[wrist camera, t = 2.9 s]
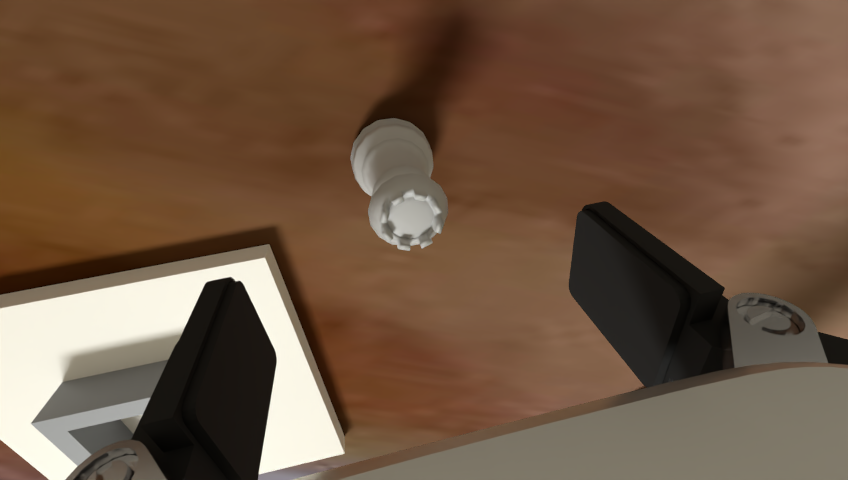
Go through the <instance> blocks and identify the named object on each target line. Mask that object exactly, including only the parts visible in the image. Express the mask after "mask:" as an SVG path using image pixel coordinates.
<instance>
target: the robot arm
mask: <svg viewBox="0 0 848 480" xmlns="http://www.w3.org/2000/svg"><path fill="white" fill-rule="evenodd" d="M724 289H725V288H724V287H723V286H721V285H720V284H719V283H717V282H716V281H714V280H713V279H712V278H710V277H709V276H708V275H706V274H705V273H704V272H702V271H701V270H699V269H698V268H697V267H695V266H694V265H693V264H691V263H690V262H689V261H687V260H686V259H685V258H683V257H682V256H680V255H679V254H678V253H676V252H675V251H674V250H672V249H671V248H670V247H668V246H667V245H665V244H664V243H663V242H661V241H660V240H659V239H657V238H656V237H655V236H653V235H652V234H651V233H649V232H648V231H646V230H645V229H644V228H642V227H641V226H640V225H638V224H637V223H636V222H634V221H633V220H631V219H630V218H629V217H627V216H626V215H625V214H623V213H622V212H621V211H619V210H618V209H616V208H615V207H614V206H612V205H611V204H610V203H608V202H599V203H594V204H589V205H586V206H584V207H583V209H582V211H580V212H579V213H578V215H577V221H576V229H575V237H574V245H573V254H572V262H571V270H570V278H569V290H570V293H571V295H572V296H573V298H574V299H575V300H576V302H577V303H578V304H579V305H580V306H581V308H582V309H583V310H584V311H585V313H586V314H587V315H588V316H589V318H590V319H591V320H592V321H593V323H594V324H595V325H596V326H597V328H598V329H599V330H600V331H601V333H602V334H603V335H604V336H605V338H606V339H607V340H608V341H609V343H610V344H611V345H612V346H613V348H614V349H615V350H616V351H617V352H618V354H619V355H620V356H621V357H622V359H623V360H624V361H625V362H626V364H627V365H628V366H629V367H630V369H631V370H632V371H633V372H634V374H635V375H636V376H637V377H638V379H639V380H640V381H641V382H642V383H643V385H644V386H646V387H647V388H644V389H640V390H636V391H632V392H628V393H624V394H620V395H616V396H612V397H608V398H604V399H600V400H596V401H592V402H588V403H584V404H580V405H576V406H572V407H568V408H564V409H560V410H556V411H553V412H549V413H545V414H541V415H537V416H533V417H529V418H525V419H521V420H518V421H514V422H510V423H506V424H502V425H498V426H494V427H490V428H487V429H483V430H479V431H475V432H471V433H467V434H463V435H460V436H456V437H452V438H448V439H444V440H440V441H436V442H432V443H429V444H425V445H421V446H417V447H413V448H410V449H406V450H402V451H398V452H394V453H391V454H387V455H383V456H379V457H376V458H372V459H368V460H364V461H360V462H357V463H353V464H349V465H345V466H341V467H338V468H334V469H330V470H326V471H322V472H319V473H315V474H311V475H308V476H304V477H301V478H297V479H294V480H848V340H847V339H843V338H840V337H836V336H832V335H828V334H824V333H820V332H817V329H816V326H815V324H814V323H813V321H812V319H811V318H810V317H809V316H808V315H807V314H806V313H805V312H804V311H803V310H801V309H800V308H798V307H796V306H795V305H793V304H791V303H789V302H787V301H784V300H782V299H780V298H777V297H773V296H769V295H766V294H759V293H741V294H738V295H735V296H733V297H732V298H731V299H730V300H728V299H726V298H725V297H724V296H723V295H722V294H723V291H724ZM276 364H277V357H276V352H275V349H274V347H273V345H272V343H271V341H270V339H269V337H268V335H267V332H266V330H265V328H264V326H263V324H262V322H261V320H260V318H259V316H258V314H257V312H256V309H255V307H254V305H253V303H252V301H251V299H250V297H249V295H248V293H247V291H246V288H245V286H244V284H243V283H242V282H241V281H235V280H234V279H233V278H232V277H227V278H222V279H217V280H212V281H208V282H206V284H205V285H204V287H203V289H202V292H201V294H200V296H199V298H198V300H197V302H196V304H195V307H194V309H193V311H192V313H191V315H190V317H189V320H188V322H187V324H186V326H185V328H184V330H183V332H182V335H181V337H180V339H179V341H178V342H177V344H176V345H175V347H174V349H173V351H172V353H171V355H170V357H169V359H168V362H167V364H166V366H165V368H164V370H163V372H162V374H161V377H160V379H159V381H158V383H157V385H156V387H155V389H154V391H153V394H152V396H151V398H150V400H149V402H148V404H147V406H146V409H145V411H144V413H143V415H142V417H141V419H140V421H139V423H138V426H137V428H136V430H135V432H134V434H133V436H132V438H131V440H124V441H118V442H115V443H113V444H111V445H108V446H106V447H104V448H102V449H100V450H99V451H97V452H95V453H94V454H92V455H91V456H89V457H88V458H87V459H86V460H85V461H83V462H82V463H81V464H80V465H79V466H77V467H76V468H75V470H74V471H73V472H72V473H71V474H70V475H69V476H68V477H67V478H66V479H65V480H258V474H259V468H260V462H261V456H262V450H263V444H264V437H265V431H266V425H267V419H268V413H269V407H270V401H271V395H272V389H273V382H274V376H275V370H276Z"/></svg>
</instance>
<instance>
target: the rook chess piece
mask: <svg viewBox="0 0 848 480" xmlns="http://www.w3.org/2000/svg"><path fill="white" fill-rule="evenodd" d="M350 158H351V163H352V168H353V173H354V175H355V179H356V180H357V182H358V183H359V185H360V186H361V188H362V189H363V191H364V192H366V193H367V194H369V195H370V196H371V201H370V205H369V209H368V214H369V219H370V225H371V226H372V228H373V229H374V231H375V232H376V233H377V235H378V236H379V237H380V238H382V239H384V240H385V241H387V242H388V243H390V244H394V245H397V247H398V249H402V250H408V251H410V246H411V245H417V244H420V245H421V248H424V247H426V246H428V245H430V244H431V243H433V242H432V240H431V238H432V237H434V236H435V235H436V233H440V234H441V231H442V228H443V225H444V222H445V219H446V217H447V214H448V204H447V197H446V195H445V193H444V192H443V190H442V188H441V186H440V185H439V184H437V183H436V182H434V181H433V180H432V179H430V176H431V173H432V170H433V156H432V150H431V148H430V145H429V143H428V141H427V139H426V137H425V135H424V133H423V132H422V131H421V130H419V129H418V128H417V127H416V126H414V125H413V124H412V123H411V122H408V121H404V120H400V119H397V118H390V119H383V120H377V121H376V122H374V123H372V124H371V125H369V126H367V127H366V128H364V129H363V130H362V131H361V133H360V134H359V136H358V137H357V138H356V140H355V141H354V143H353V148H352V153H351V157H350Z"/></svg>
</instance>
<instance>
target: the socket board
mask: <svg viewBox="0 0 848 480" xmlns="http://www.w3.org/2000/svg"><path fill="white" fill-rule="evenodd" d="M227 277H232V278H233V279H234V280H235V281H241V282H242V283H243V284H244V286H245V288H246V291H247V293H248V295H249V297H250V299H251V301H252V303H253V305H254V307H255V309H256V312H257V314H258V316H259V318H260V320H261V322H262V324H263V326H264V328H265V330H266V332H267V335H268V337H269V339H270V341H271V343H272V345H273V347H274V349H275V352H276V357H277V364H276V370H275V376H274V382H273V389H272V395H271V401H270V407H269V413H268V419H267V425H266V431H265V437H264V444H263V450H262V456H261V462H260V468H259V474H262V473H266V472H270V471H274V470H279V469H283V468H287V467H291V466H295V465H299V464H303V463H308V462H312V461H316V460H320V459H324V458H328V457H332V456H336V455H341V454H345V436H344V434H343V431H342V429H341V426H340V424H339V421H338V418H337V416H336V413H335V411H334V408H333V406H332V403H331V400H330V398H329V395H328V393H327V390H326V388H325V385H324V383H323V380H322V377H321V375H320V372H319V370H318V367H317V365H316V362H315V360H314V357H313V354H312V352H311V349H310V347H309V344H308V342H307V339H306V337H305V334H304V331H303V329H302V326H301V324H300V321H299V319H298V316H297V313H296V311H295V308H294V306H293V303H292V301H291V298H290V296H289V293H288V290H287V288H286V285H285V283H284V280H283V278H282V275H281V273H280V270H279V267H278V265H277V262H276V260H275V257H274V255H273V252H272V250H271V247H270V244H267V245H262V246H256V247H251V248H246V249H240V250H235V251H230V252H224V253H219V254H214V255H209V256H203V257H198V258H193V259H187V260H182V261H177V262H171V263H166V264H161V265H156V266H150V267H145V268H140V269H134V270H129V271H124V272H118V273H113V274H108V275H103V276H97V277H92V278H87V279H81V280H76V281H71V282H65V283H60V284H55V285H50V286H44V287H39V288H34V289H28V290H23V291H18V292H12V293H7V294H2V295H0V440H2V441H3V442H4V443H5V444H6V445H8V446H9V447H10V448H11V449H13V450H14V451H15V452H16V453H17V454H19V455H20V456H21V457H22V458H24V459H25V460H26V461H27V462H28V463H30V464H31V465H32V466H33V467H35V468H36V469H37V470H38V471H39V472H41V473H42V474H43V475H44V476H46V477H47V478H48V479H49V480H65V479H66V478H67V477H68V476H69V475H70V474H71V473H72V472H73V471H74V470H75V468H76V467H77V466H79V465H80V464H81V463H82V462H83V461H85V460H86V459H87V458H88V457H89V456H91V455H92V454H94V453H95V452H97V451H99V450H100V449H102V448H104V447H106V446H108V445H111V444H113V443H115V442H118V441H124V440H131V438H132V436H133V434H134V432H135V430H136V428H137V426H138V423H139V421H140V419H141V417H142V415H143V413H144V411H145V409H146V406H147V404H148V402H149V400H150V398H151V396H152V394H153V391H154V389H155V387H156V385H157V383H158V381H159V379H160V377H161V374H162V372H163V370H164V368H165V366H166V364H167V362H168V359H169V357H170V355H171V353H172V351H173V349H174V347H175V345H176V344H177V342H178V341H179V339H180V337H181V335H182V332H183V330H184V328H185V326H186V324H187V322H188V320H189V317H190V315H191V313H192V311H193V309H194V307H195V304H196V302H197V300H198V298H199V296H200V294H201V292H202V289H203V287H204V285H205V284H206V282H208V281H212V280H217V279H222V278H227Z"/></svg>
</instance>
